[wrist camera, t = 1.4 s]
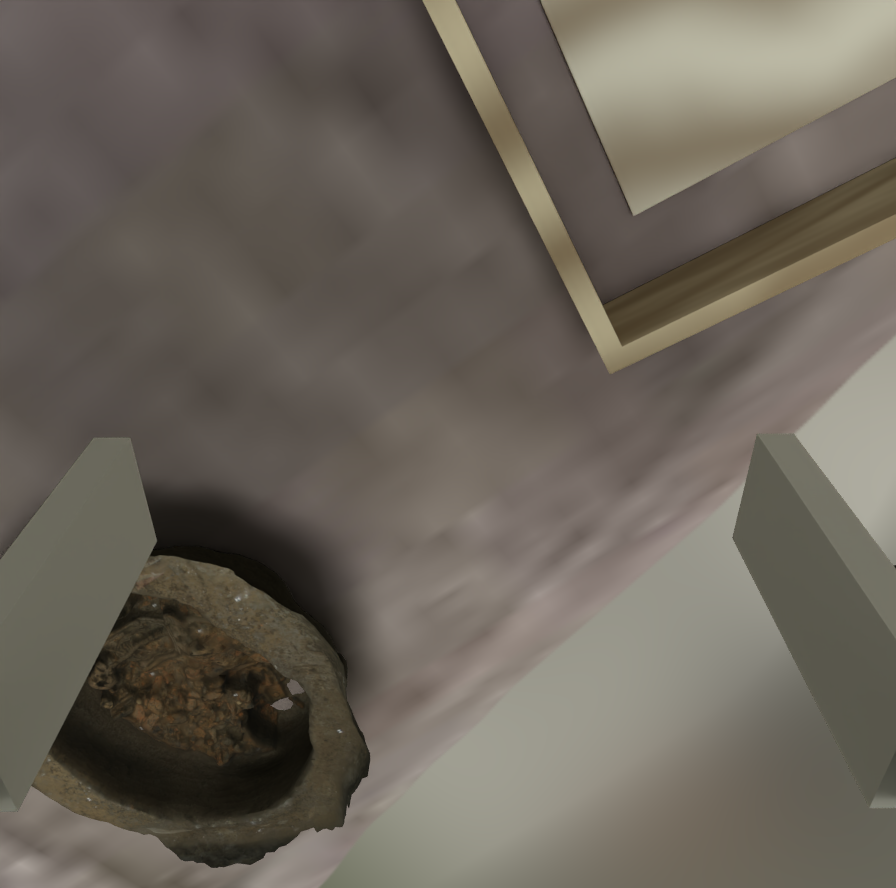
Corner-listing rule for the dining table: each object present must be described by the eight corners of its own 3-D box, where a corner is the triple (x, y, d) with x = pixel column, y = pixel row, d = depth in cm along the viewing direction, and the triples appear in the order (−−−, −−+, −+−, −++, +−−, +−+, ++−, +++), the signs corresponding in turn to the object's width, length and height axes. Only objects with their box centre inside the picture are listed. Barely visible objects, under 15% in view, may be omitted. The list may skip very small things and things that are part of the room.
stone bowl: (433, 726, 55) (420, 855, 47) (122, 757, 59) (64, 880, 52) (316, 441, 42) (272, 555, 34) (-68, 510, 47) (-183, 624, 39)
